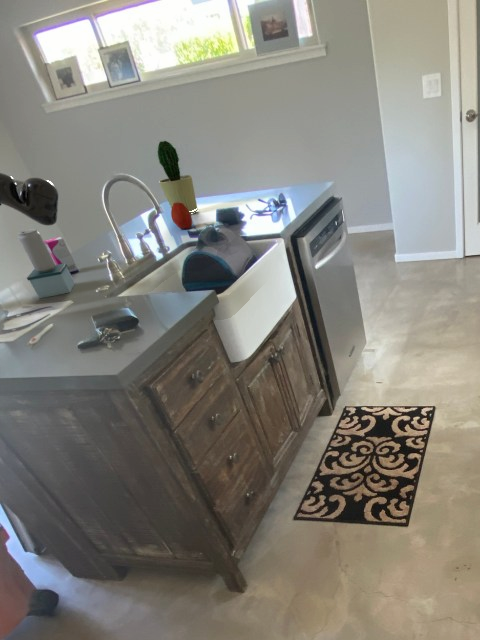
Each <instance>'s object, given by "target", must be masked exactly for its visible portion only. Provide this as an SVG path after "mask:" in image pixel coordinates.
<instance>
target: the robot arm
mask: <svg viewBox="0 0 480 640" xmlns="http://www.w3.org/2000/svg"><path fill="white" fill-rule="evenodd" d="M59 196H60V195H59V191H58V189H57V187H56V186H55V185H54V184H53V183H52V182H51V181H49V180H47V179H45V178H42V177H29V178H27V179H25V180H18V179H16V180H15V179H14V177H12V176H11V175H8V174H6V173H3V172H0V206H2V205H3V206H6V207H8V208H11V209H13V210H16V211H17V212H19V213H21V214H23V215H24V216H25V217H27V218H28V219H30V220H32V221H34V222H36V223H38V224H39V225H43V226H54V225H55V224H56V223H57V220H58V210H59Z"/></svg>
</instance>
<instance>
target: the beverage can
mask: <svg viewBox="0 0 480 640" xmlns="http://www.w3.org/2000/svg"><path fill="white" fill-rule="evenodd" d="M17 235H18V240H19V241H20V243H21V245H22V247H23V249H24V251H25V253H26V255H27V257H28V259H29V261H30V263H31V265H32V266H33V269H35V270H36V271H38V272H39V273H44V272H49V271H52V270H54V269H55V267H56V264H55V262H54V260H53V258H52V256H51V254H50V252H49V250H48V248H47V246H46V244H45V242H44V241H45V240H44V239H43V237H42V235H41V233H40V232H39V231H38V230H37V228H30V229H25V230H22V231H19V232H18V233H17Z"/></svg>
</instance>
